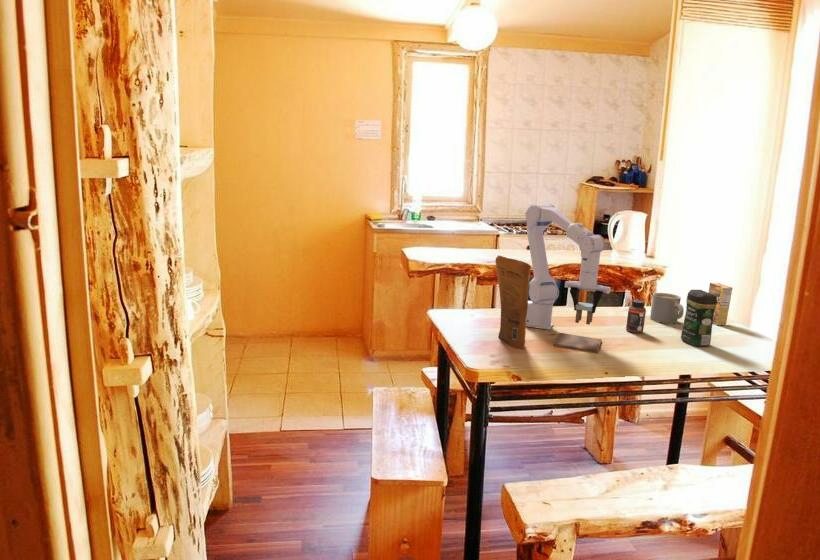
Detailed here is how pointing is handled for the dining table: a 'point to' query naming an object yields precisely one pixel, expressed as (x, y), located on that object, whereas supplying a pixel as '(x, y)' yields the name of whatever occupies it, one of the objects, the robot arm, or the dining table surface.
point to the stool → (585, 307)
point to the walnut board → (577, 342)
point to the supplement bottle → (636, 317)
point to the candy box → (721, 302)
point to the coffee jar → (699, 318)
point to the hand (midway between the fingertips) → (584, 311)
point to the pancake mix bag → (513, 299)
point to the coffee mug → (666, 308)
